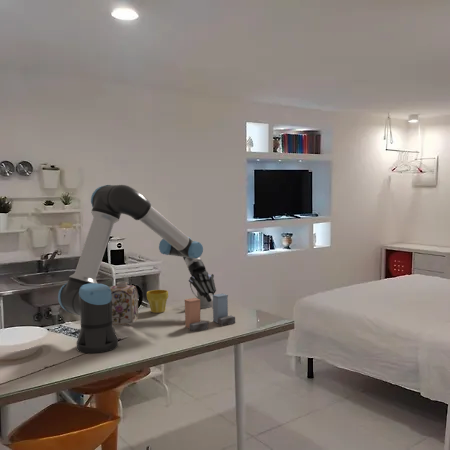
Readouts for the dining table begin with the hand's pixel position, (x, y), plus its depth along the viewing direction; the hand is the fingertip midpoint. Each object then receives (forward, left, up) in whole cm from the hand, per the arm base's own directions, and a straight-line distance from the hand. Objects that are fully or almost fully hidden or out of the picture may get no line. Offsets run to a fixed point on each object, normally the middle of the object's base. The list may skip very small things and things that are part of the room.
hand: (215, 307), depth 211 cm
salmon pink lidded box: (-11, -10, -5) cm, 16 cm away
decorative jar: (-41, +10, -7) cm, 42 cm away
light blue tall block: (+2, -4, -5) cm, 7 cm away
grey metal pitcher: (-3, +32, -7) cm, 32 cm away
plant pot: (-25, +25, -7) cm, 35 cm away
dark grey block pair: (-5, -6, -7) cm, 10 cm away
